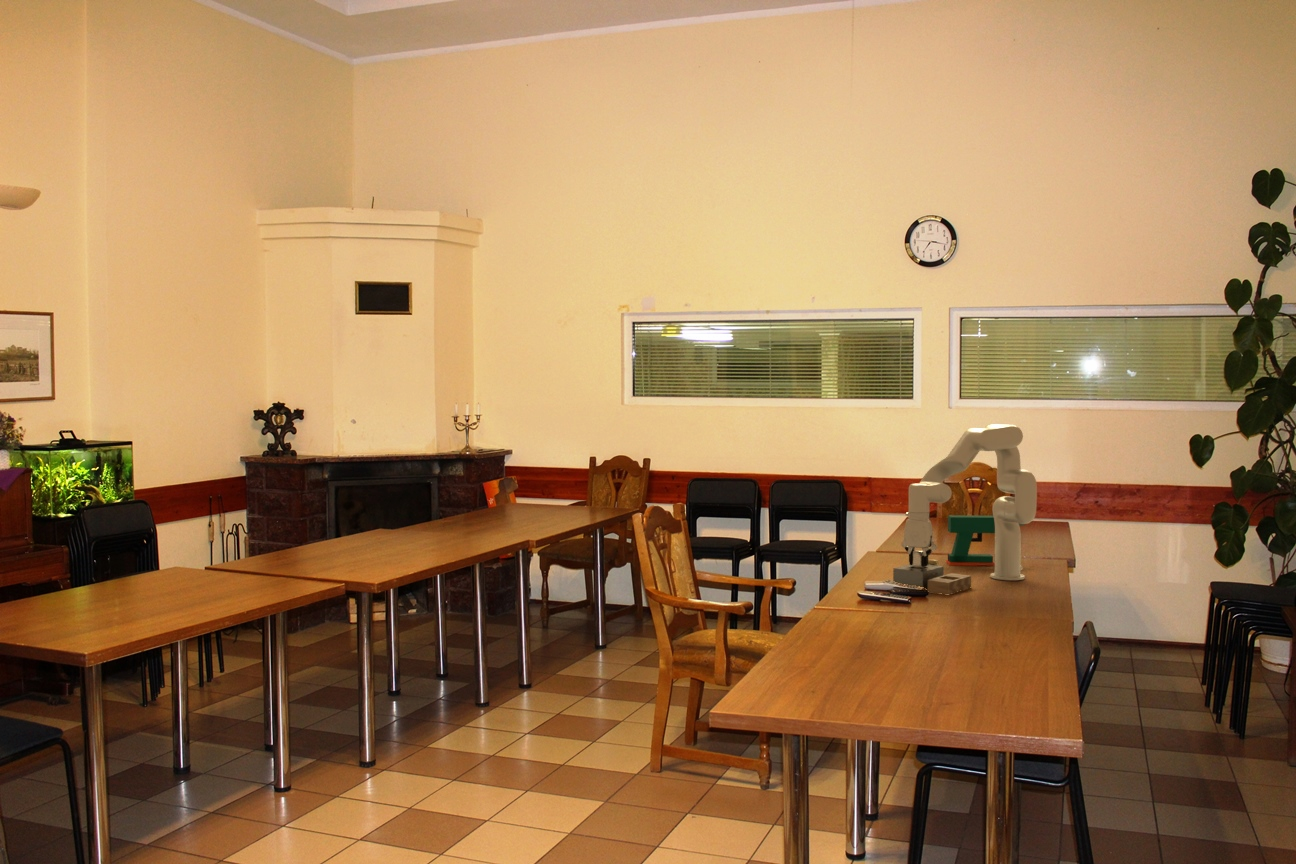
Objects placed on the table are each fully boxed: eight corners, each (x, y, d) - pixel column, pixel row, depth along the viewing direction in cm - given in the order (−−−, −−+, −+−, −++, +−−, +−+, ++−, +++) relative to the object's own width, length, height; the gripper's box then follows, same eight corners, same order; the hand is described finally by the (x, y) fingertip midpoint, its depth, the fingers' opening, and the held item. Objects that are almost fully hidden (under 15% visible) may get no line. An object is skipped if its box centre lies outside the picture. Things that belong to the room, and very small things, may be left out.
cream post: (915, 584, 399) (916, 549, 398) (926, 585, 396) (926, 551, 395) (910, 586, 396) (910, 551, 395) (920, 587, 393) (921, 552, 392)
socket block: (914, 580, 406) (914, 562, 405) (943, 584, 398) (943, 566, 397) (893, 586, 394) (893, 568, 394) (922, 591, 386) (922, 571, 385)
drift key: (926, 577, 405) (926, 558, 405) (938, 578, 402) (938, 560, 402) (916, 579, 400) (916, 561, 399) (928, 581, 396) (928, 562, 396)
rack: (950, 585, 397) (950, 573, 396) (971, 588, 391) (971, 575, 391) (927, 592, 383) (927, 580, 383) (948, 595, 378) (948, 582, 378)
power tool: (1023, 563, 445) (1024, 515, 444) (1028, 566, 438) (1028, 517, 437) (945, 562, 448) (946, 515, 447) (949, 565, 441) (949, 517, 440)
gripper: (893, 515, 397) (893, 564, 398) (934, 519, 386) (934, 569, 387) (903, 513, 403) (903, 561, 404) (944, 517, 392) (944, 566, 392)
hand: (918, 564), depth 395 cm, fingers closed on cream post, 4 cm apart
